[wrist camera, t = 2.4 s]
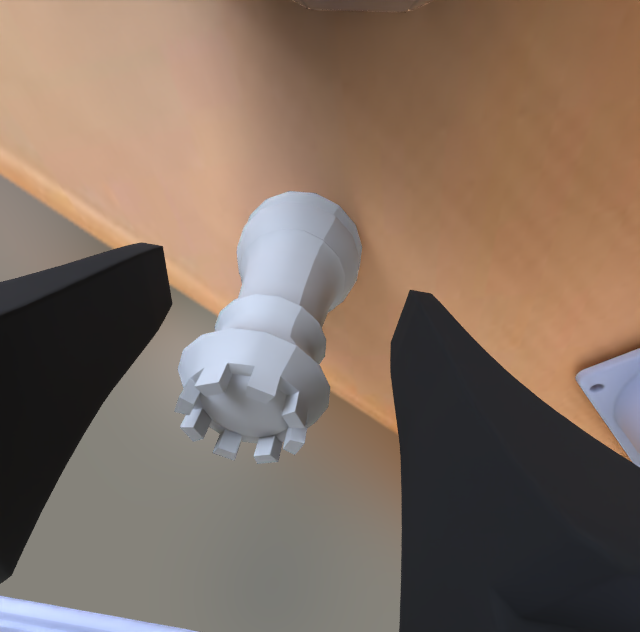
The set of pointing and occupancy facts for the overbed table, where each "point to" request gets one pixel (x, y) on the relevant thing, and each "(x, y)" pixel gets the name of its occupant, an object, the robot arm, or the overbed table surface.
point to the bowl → (363, 5)
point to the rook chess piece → (272, 330)
